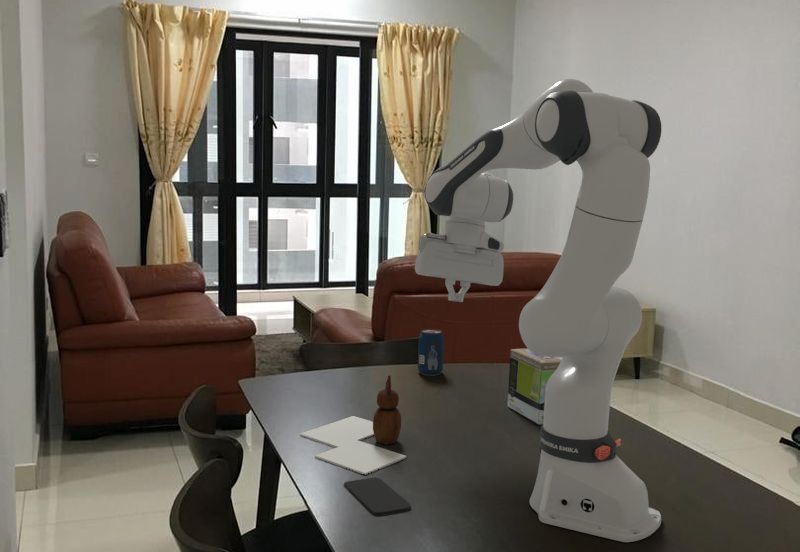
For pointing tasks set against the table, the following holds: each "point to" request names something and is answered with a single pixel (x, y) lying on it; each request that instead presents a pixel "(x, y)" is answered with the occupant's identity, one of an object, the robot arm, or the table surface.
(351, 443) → the mat side
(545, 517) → the robot arm
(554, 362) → the tea box
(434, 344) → the soda can
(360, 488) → the phone
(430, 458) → the table surface
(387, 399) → the wooden figurine
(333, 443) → the mat front
